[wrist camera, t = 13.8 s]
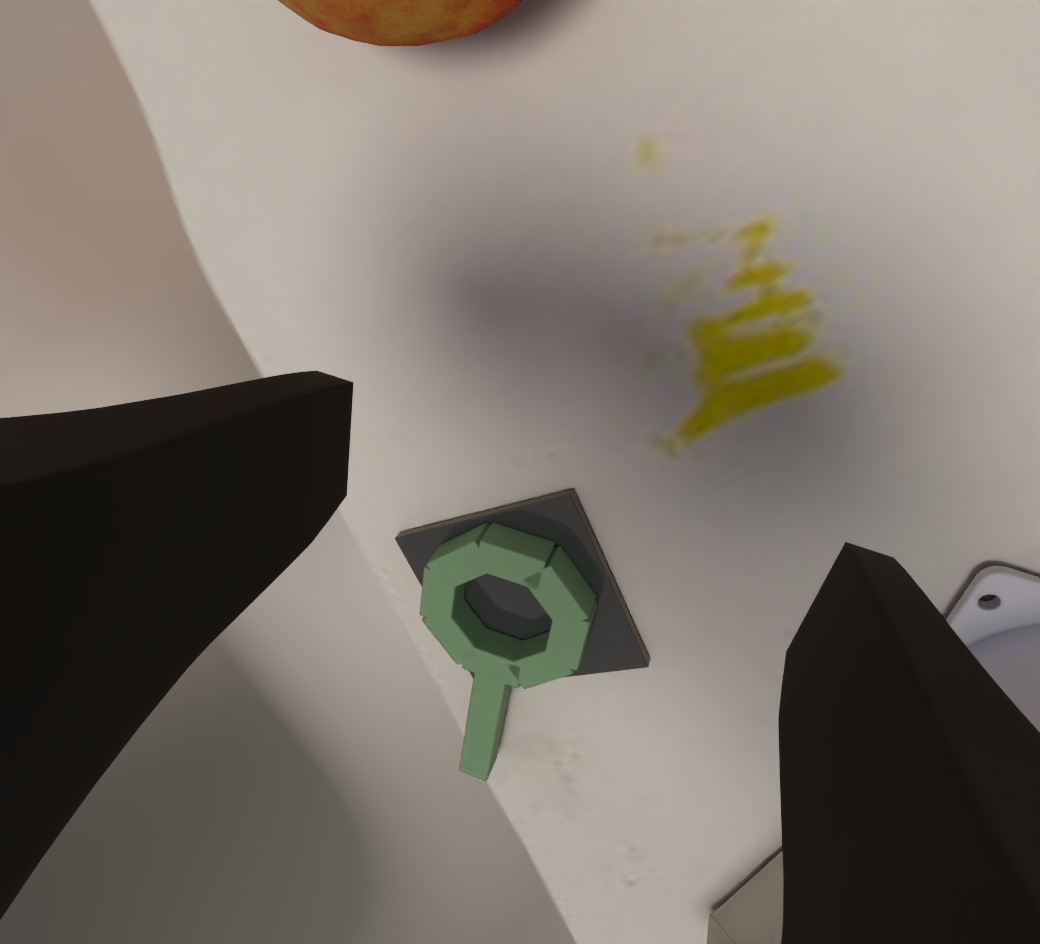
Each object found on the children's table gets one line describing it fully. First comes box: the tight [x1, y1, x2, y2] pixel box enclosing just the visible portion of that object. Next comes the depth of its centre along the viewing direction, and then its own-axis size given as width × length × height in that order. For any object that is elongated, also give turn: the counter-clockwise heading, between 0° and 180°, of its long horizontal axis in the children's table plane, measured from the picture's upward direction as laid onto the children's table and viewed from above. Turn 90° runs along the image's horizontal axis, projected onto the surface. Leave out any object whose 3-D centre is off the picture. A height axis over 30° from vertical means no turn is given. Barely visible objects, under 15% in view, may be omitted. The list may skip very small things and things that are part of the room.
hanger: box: [420, 523, 597, 781], centre depth 26 cm, size 11×6×1 cm, turn 171°
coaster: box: [395, 489, 650, 679], centre depth 25 cm, size 7×7×1 cm
